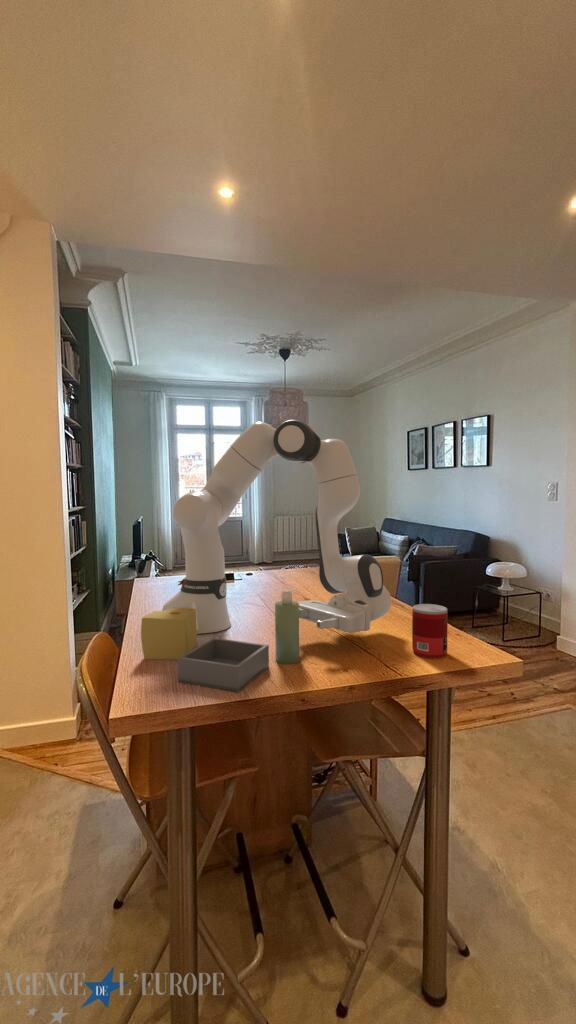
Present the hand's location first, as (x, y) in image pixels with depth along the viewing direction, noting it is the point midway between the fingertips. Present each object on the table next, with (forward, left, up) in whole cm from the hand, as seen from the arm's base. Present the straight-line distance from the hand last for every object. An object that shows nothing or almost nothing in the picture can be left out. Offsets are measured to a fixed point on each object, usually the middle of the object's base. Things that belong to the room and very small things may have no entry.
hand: (304, 620), depth 113 cm
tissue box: (-30, -11, -8) cm, 33 cm away
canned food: (+28, +11, -8) cm, 31 cm away
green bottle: (-2, -5, -8) cm, 10 cm away
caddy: (-11, -18, -8) cm, 23 cm away
